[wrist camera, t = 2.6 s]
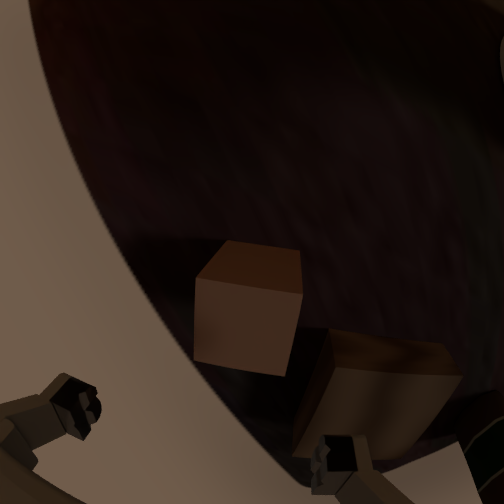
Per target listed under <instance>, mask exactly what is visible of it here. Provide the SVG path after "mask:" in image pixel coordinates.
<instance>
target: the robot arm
mask: <svg viewBox="0 0 504 504" xmlns="http://www.w3.org/2000/svg"><path fill="white" fill-rule="evenodd" d="M500 64H501V71H502V77H503V82H504V37H503V39H502V42H501V47H500ZM96 395H97V390H96V387H94V386H92V385H90V384H87V383H85V382H83V381H80V380H79V379H76V378H74V377H72V376H70V375H68V374H66V373H61V374H59V375H58V376H57V377H56V378H55V379H54V380H53V382H52V383H51V384H49V386H48V387H47V388H46V389H45V390H44V391H43V392H42V393H41V394H40V395H38V394H35V395H31V396H28V397H25V398H21V399H17V400H14V401H10V402H6V403H2V404H0V504H86V503H84V502H82V501H80V500H79V499H77V498H75V497H73V496H71V495H70V494H67V493H66V492H64V491H63V490H61V489H59V488H57V487H56V486H54V485H53V484H51V483H49V482H48V481H46V480H45V479H43V478H42V477H40V476H39V475H37V474H36V473H34V472H33V471H32V470H33V469H34V467H35V466H36V465H37V463H38V459H37V457H36V456H35V454H34V453H33V452H32V450H34V449H36V448H38V447H40V446H42V445H44V444H47V443H48V442H51V441H53V440H54V439H57V438H59V437H61V436H63V435H65V434H66V433H68V434H70V435H72V436H74V437H76V438H78V439H80V440H82V441H84V440H85V438H86V437H87V435H88V434H89V432H90V431H91V424H93V423H96V422H97V420H98V419H99V417H100V414H101V410H102V409H101V402H100V401H99V399H98V398H97V397H96ZM311 471H312V472H313V473H314V474H315V475H314V476H313V478H312V479H311V489H312V491H311V492H312V495H335V497H336V498H337V499H338V501H339V502H340V504H414V503H413V502H412V501H411V500H409V499H408V498H407V497H406V496H405V495H404V494H403V493H401V492H400V491H399V490H398V489H397V488H396V487H395V486H394V485H393V484H392V483H390V482H389V481H388V480H387V479H386V478H385V477H384V476H383V475H382V474H381V473H380V472H379V471H377V470H373V467H372V462H371V457H370V453H369V448H368V444H367V439H366V436H365V435H322V436H321V437H320V439H319V446H317V447H315V449H314V451H313V454H312V458H311Z"/></svg>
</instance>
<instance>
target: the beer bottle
mask: <svg viewBox="0 0 504 504" xmlns="http://www.w3.org/2000/svg"><path fill="white" fill-rule="evenodd" d="M454 430H455V433H456V436H457V439H458V441H459V444H460V446H461V449H462V451H463V453H464V456H465V458H466V461H467V464H468V466H469V469H470V471H471V474H472V477H473V480H474V483H475V485H476V488H477V491H478V494H479V496H480V498H481V501H482V503H483V504H504V398H503V396H502V395H501V394H500V392H499V391H497V390H495V391H492V392H490V393H487V394H483V395H480V396H479V397H478V398H477V399H476V400H475V401H473V402H472V403H471V404H470V405H469V406H467V407H466V408H465V409H464V410H462V412H461V414H460V416H459V418H458V419H457V421H456V423H455V425H454Z"/></svg>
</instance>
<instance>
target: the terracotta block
mask: <svg viewBox="0 0 504 504" xmlns="http://www.w3.org/2000/svg"><path fill="white" fill-rule="evenodd" d="M302 297H303V287H302V274H301V262H300V251H298V250H291V249H284V248H278V247H271V246H264V245H257V244H250V243H243V242H237V241H230V240H227V241H226V242H225V243H224V245H223V246H222V247H221V248H220V249H219V250H218V252H217V253H216V254H215V255H214V256H213V258H212V259H211V260H210V261H209V262H208V264H207V265H206V266H205V267H204V268H203V270H202V271H201V272H200V273H199V274H198V276H197V277H196V287H195V319H194V360H195V361H200V362H204V363H209V364H214V365H219V366H224V367H229V368H234V369H240V370H246V371H252V372H258V373H264V374H271V375H278V376H285V373H286V369H287V365H288V361H289V356H290V352H291V348H292V344H293V339H294V335H295V330H296V326H297V321H298V316H299V312H300V307H301V302H302Z"/></svg>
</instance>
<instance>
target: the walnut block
mask: <svg viewBox="0 0 504 504" xmlns="http://www.w3.org/2000/svg"><path fill="white" fill-rule="evenodd" d="M463 376H464V375H463V374H462V372H461V371H460V369H459V368H458V366H457V365H456V363H455V362H454V360H453V359H452V357H451V356H450V354H449V353H448V351H447V350H446V348H445V347H444V345H443V344H442V343H432V342H423V341H414V340H405V339H397V338H389V337H382V336H374V335H367V334H361V333H354V332H348V331H341V330H335V329H329V330H328V333H327V335H326V338H325V341H324V344H323V347H322V349H321V352H320V355H319V358H318V360H317V363H316V366H315V368H314V371H313V373H312V376H311V378H310V381H309V383H308V386H307V388H306V391H305V393H304V396H303V398H302V400H301V403H300V405H299V407H298V410H297V412H296V414H295V417H294V420H293V443H292V456H294V457H303V458H312V454H313V451H314V449H315V447H317V446H319V439H320V437H321V436H322V435H365V436H366V439H367V444H368V448H369V453H370V457H371V460H384V459H401V458H402V457H403V456H404V454H405V453H406V452H407V451H408V450H409V449H410V448H411V447H412V445H413V444H414V443H415V442H416V441H417V440H418V438H419V437H420V436H421V435H422V434H423V432H424V431H425V430H426V429H427V427H428V426H429V425H430V424H431V422H432V421H433V420H434V418H435V417H436V416H437V414H438V413H439V412H440V410H441V409H442V407H443V406H444V405H445V403H446V402H447V400H448V399H449V397H450V396H451V395H452V393H453V392H454V390H455V389H456V387H457V385H458V384H459V382H460V381H461V379H462V377H463Z"/></svg>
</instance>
